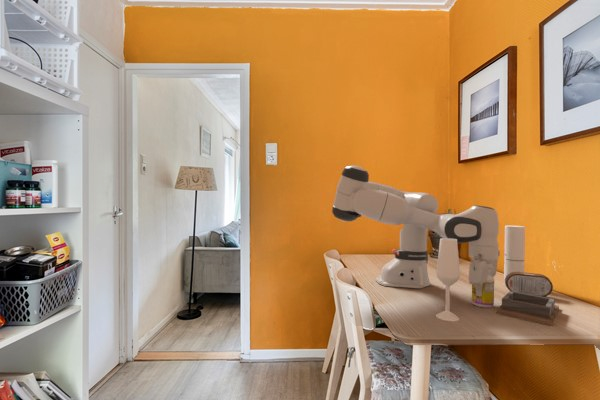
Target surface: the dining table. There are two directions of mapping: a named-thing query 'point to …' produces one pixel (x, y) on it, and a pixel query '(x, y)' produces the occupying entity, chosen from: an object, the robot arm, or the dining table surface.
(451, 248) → the champagne flute
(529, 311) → the holder
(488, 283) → the supplement bottle
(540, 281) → the tin
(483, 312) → the dining table surface
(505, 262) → the cylindrical container
